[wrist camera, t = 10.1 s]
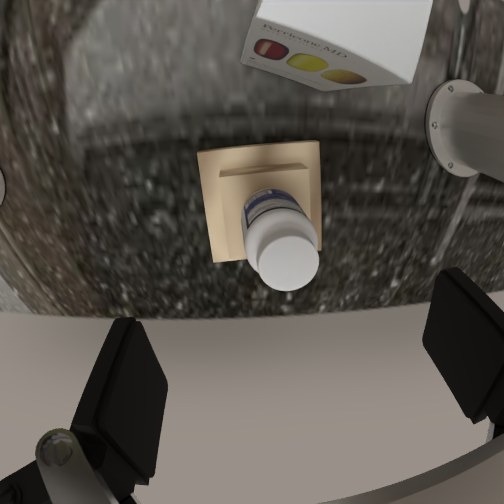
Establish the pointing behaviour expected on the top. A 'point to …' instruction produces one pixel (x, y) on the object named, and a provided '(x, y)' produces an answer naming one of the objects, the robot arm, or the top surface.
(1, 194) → the bath foam
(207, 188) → the plinth
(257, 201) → the pill bottle
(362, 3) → the supplement box
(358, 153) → the top surface
